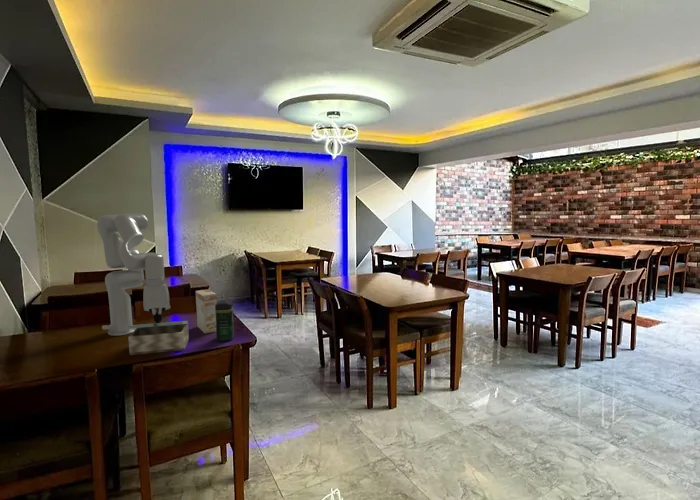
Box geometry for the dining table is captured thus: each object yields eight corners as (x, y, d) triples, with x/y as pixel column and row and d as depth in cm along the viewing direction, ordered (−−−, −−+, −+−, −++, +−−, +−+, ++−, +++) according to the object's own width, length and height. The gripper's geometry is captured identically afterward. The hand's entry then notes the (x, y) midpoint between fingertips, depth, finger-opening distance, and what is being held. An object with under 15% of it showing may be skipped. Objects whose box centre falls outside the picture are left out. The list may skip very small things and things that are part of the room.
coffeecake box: (218, 331, 203) (216, 293, 201) (204, 333, 199) (202, 295, 197) (210, 324, 215) (208, 288, 213) (197, 326, 211) (194, 290, 209)
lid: (127, 328, 169) (127, 325, 170) (137, 327, 184) (137, 324, 184) (182, 324, 175) (182, 320, 175) (187, 323, 189) (187, 320, 189)
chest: (129, 355, 171) (128, 337, 170) (138, 344, 185) (137, 327, 184) (184, 349, 177) (183, 332, 176) (188, 339, 190) (187, 323, 189)
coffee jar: (232, 341, 187) (230, 302, 185) (215, 342, 186) (213, 303, 184) (235, 334, 197) (233, 298, 195) (219, 335, 196) (217, 298, 194)
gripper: (134, 284, 170) (137, 326, 172) (172, 282, 174) (174, 323, 176) (139, 281, 177) (142, 321, 179) (175, 279, 181) (177, 318, 183)
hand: (158, 322), depth 178 cm, fingers closed
